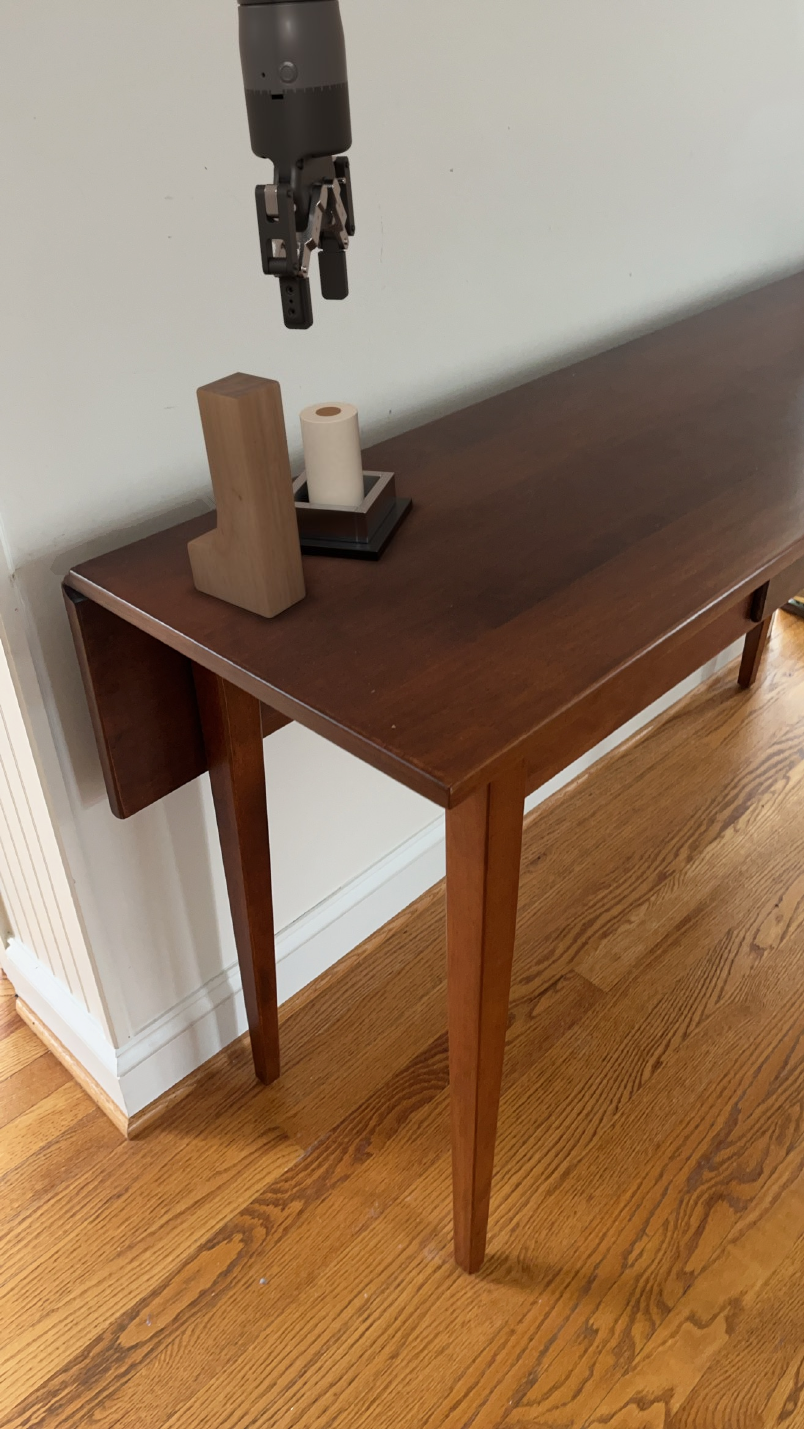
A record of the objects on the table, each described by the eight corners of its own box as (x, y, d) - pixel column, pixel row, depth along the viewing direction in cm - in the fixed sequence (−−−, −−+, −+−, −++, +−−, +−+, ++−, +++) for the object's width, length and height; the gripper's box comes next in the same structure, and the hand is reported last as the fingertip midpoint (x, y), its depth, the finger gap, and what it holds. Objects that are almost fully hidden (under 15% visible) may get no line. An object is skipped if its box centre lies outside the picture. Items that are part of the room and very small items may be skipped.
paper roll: (303, 528, 92) (290, 420, 86) (322, 505, 96) (311, 400, 90) (356, 532, 91) (346, 423, 85) (373, 509, 95) (364, 402, 89)
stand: (261, 550, 92) (254, 509, 89) (304, 499, 100) (300, 460, 98) (378, 561, 89) (374, 519, 86) (412, 507, 97) (410, 467, 95)
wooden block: (193, 590, 86) (151, 377, 76) (232, 569, 89) (197, 360, 78) (270, 621, 81) (236, 398, 71) (308, 597, 84) (281, 379, 74)
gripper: (283, 71, 80) (306, 289, 89) (205, 91, 69) (240, 337, 78) (375, 68, 78) (387, 291, 87) (309, 87, 67) (332, 340, 77)
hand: (318, 313), depth 83 cm, fingers open, 8 cm apart
